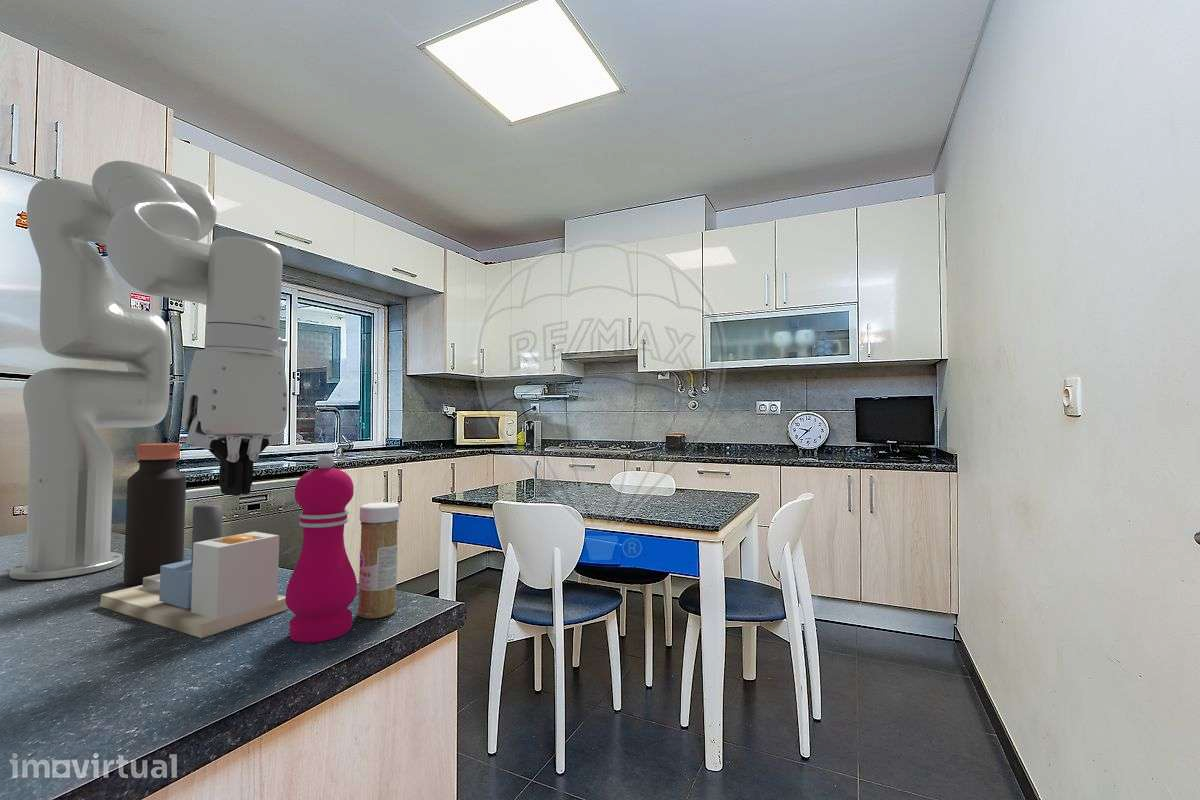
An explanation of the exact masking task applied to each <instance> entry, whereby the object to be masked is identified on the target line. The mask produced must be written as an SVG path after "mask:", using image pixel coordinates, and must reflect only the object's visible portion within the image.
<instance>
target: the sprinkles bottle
mask: <svg viewBox="0 0 1200 800" xmlns="http://www.w3.org/2000/svg"><path fill="white" fill-rule="evenodd" d="M399 519H400V505H399V504H398V503H396V502H391V501H390V502H387V501H386V502H385V501H383V502H382V501H381V502H380V501H379V502H370V503H365V504H363V505H361V506H360V507H359V521H360V525H361V526H360V527H361V529H360V532H361V533H360V549H359V572H358V573H359V575H358V590H359V591H358V608H357V611H356V613H357V615H358V616H359V617H360V618H363V619H366V620H368V619H369V620H370V619H371V620H372V619H373V620H374V619H380V618H384V617H386V616H391V615H392V614H394V613H395V612H396V611H397V605H396V599H397V598H396V597H397V591H396V590H397V582H398V581H397V580H398V578H397V577H398V575H397V574H398V549H399V548H398V544H399V543H398V523H399ZM392 590H393V591H392Z"/></svg>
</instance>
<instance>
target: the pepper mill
mask: <svg viewBox="0 0 1200 800" xmlns="http://www.w3.org/2000/svg"><path fill="white" fill-rule="evenodd" d="M334 464H335V458H334V457H333V456H332V455H330V454H326V453H325V454H322V455H320V456H318V458H317V459H316V465H317V467H318V468H314V469H312V470H309V471H307V472H305V473H304V474H303V475H302V476H300V477H299V479H298V481H297V482H296V485H295V488H294V500H295V502H296V503H297V505H298V506H299V507H300V508H301V509H302V511H301V512H300V513H299V514H298V516H299V522H298V525H299V526H300V527H302V535H303V538H302V544H301V545H302V546H301V551H300V554H299V558H298V560H297V563H296V565H295V567H294V569H293V572H292V574H291V575H290V577H289V580H288V583H287V586H286V591H285V596H286V598H285V601H286V605H287V607H288V608H289V609H288V610H290V611H291V612H292V613H293V614H294V616H293V617H292V618H291V619H290V620H289V638H290V639H291V640H292V641H293V642H297V643H303V644H304V643H306V644H311V643H320V642H326V641H330V640H333V639H337V638H340V637H342V636H343V635H346V634H347V633H348V632H350V631H351V629H352V628H353V612H352V610H350V609H349V606H350V605H351V604H352V603H353V601H355V598H356V596H357V595H358V584H357V583H358V581H357V577H356V574H355V570H354V569H353V566H352V564H351V562H350V561H351V560H350V559H349V555H348V554H347V551H346V550H347V549H346V548H345V547H346V546H345V537H344V536H345V535H344V534H345V532H344V531H345V524H347V523H348V522H349V518H348V515H349V510H348V509H346V506H347V505H348V504H349V503H350V502H351V501H352V499H353V497H354V493H355V491H354V487H355V485H354V481H353V480H352V477H350V476H349V474H348V473H347V472H346V471H343V470H341V469H338V468H334V466H335V465H334Z"/></svg>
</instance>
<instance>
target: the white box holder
mask: <svg viewBox="0 0 1200 800" xmlns="http://www.w3.org/2000/svg"><path fill="white" fill-rule="evenodd" d="M234 535H235V534H232V536H234ZM237 535H252V536H253V540H250V541H245V542H240V543H234V544H226V543H222V540H223V538H225V537H226V536H224V537H223V536H222V538H217V539H211V540H206V541H201V542H195V543H193V568H192V599H191V613H195V614H198V615H202V616H205V617H209V618H212V619H216V620H217V619H221V618H224V617H227V616H230V615H234V614H237V613H240V612H243V611H246V610H250V609H253V608H256V607H259V606H262V605H266V604H269V603H272V602H275V601H278V595H279V594H278V593H279V560H280V558H279V557H280V535H279V534H273V533H266V532H259V531H250V532H245V533H239V534H237Z"/></svg>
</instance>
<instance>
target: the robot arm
mask: <svg viewBox="0 0 1200 800" xmlns="http://www.w3.org/2000/svg"><path fill="white" fill-rule="evenodd" d="M92 175H93V176H92V178H91V184H92V185H91V184H88V183H84V182H79V181H76V180H75V181H74V180H70V179H63V178H45V179H41V180H40V181H38V182H36V183H35V184H34V185H33V186H32V188H31V190H30V192H29V194H28V197H27V203H26V222H27V223H26V224H27V228H28V231H29V236H30V239H31V241H32V244H33V247H34V249H35V252H36V255H37V258H38V262H39V266H40V294H39V295H40V300H39V305H40V306H39V308H40V309H39V336H40V342H41V345H42V347H43V349H44V350H45V351H46V352H47V353H48V354H50V355H53V356H55V357H59V358H64V359H69V360H70V359H72V360H80V361H82V360H83V361H91V362H92V361H93V362H94V361H95V362H104V363H114V364H116V363H117V364H125V365H126V367H127V370H125V371H124V370H111V369H97V368H87V367H86V368H84V367H64V366H63V367H52V368H45V369H42V370H39V371H37V372H35V373H32V375H31V376H29V378H27V380H26V381H25V383H24V385H23V390H22V391H23V392H22V398H23V405H24V406H23V407H24V410H25V411H24V412H25V417H26V422H27V428H28V438H29V443H28V444H29V458H28V460H29V461H28V462H29V463H28V464H29V465H28V471H29V472H28V491H27V514H26V516H27V518H26V537H25V539H26V540H25V558H24V559H25V561H24V562H23V563H20V564H17V565H14V566H13V567H11V568H10V569H9V574H8V575H9V578H11V579H13V580H19V581H21V580H22V581H37V580H38V581H39V580H40V581H41V580H52V579H59V578H69V577H75V576H81V575H86V574H91V573H95V572H100V571H104V570H108V569H110V568H113V567H116V566H119V565H120V564H121V563H122V562H124V561H123V560H124V559H123V557H124V556H123V554H122V553H119V552H114V551H111V542H112V540H111V539H112V537H111V536H112V518H113V517H112V514H113V513H112V512H113V490H114V487H113V486H114V485H113V484H114V482H113V481H114V454H113V452H112V450H111V448H110V447H109V445H108V444H107V442H105V441H104V439H103V438H102V437H101V436H100V435H99V434H98V433H97V432H96V431H95V429H107V428H108V429H110V428H111V429H112V428H114V429H115V428H124V429H126V428H149V427H153V426H156V425H158V424H160V423H161V422H162V421H163V420H164V419H165V417H166V415H167V413H168V409H169V403H170V387H171V386H170V383H171V381H170V380H171V379H170V378H171V375H170V373H171V371H170V370H171V336H170V331H169V328H168V326H167V324H166V322H165V321H164V319H163V318H162V317H161V316H159V315H158V314H157V313H155V312H152V311H148V310H145V309H140V308H133V307H127V306H121V305H118V304H117V302H116V300H115V288H116V287H115V286H116V280H115V275H114V272H113V271H112V269H111V268H110V266H109V265H108V263H107V262H106V260H105V259H104V258H103V257H102V256H101V254H100V253H99V252H98V251H97V250H96V249H95V248H94V247H93V246H92V245H91V244H89V242H91V243H96V244H99V245H105V248H106V255H107V258H108V260H109V263H110V264H111V265H112V267H113V268H114V269H115V270H116V272H117V273H118V275H119V276H121V278H122V279H123V280H124V281H125V282H126V283H127V284H129V286H131V287H132V288H134V289H135V290H137V291H140V292H142V293H144V294H146V295H147V294H148V295H151V296H155V297H160V298H161V297H162V298H166V299H174V300H179V301H185V302H192V303H196V304H202V305H205V307H206V308H205V309H206V311H205V329H204V330H205V331H204V346H203V347H204V350H203V349H198V350H195V352H194V355H193V358H192V361H191V365H190V367H189V372H188V375H187V380H186V385H185V386H186V387H185V392H184V396H183V397H184V398H183V406H182V416H181V426H182V429H183V431H184V432H186V433H187V436H186V440H185V444H186V445H187V446H191V447H197V448H201V449H206V450H208V451H209V453H211V454H212V455H213V456H214V457H215V460H216V461H217V462H218V461H220V462H219V479H218V487H219V488H220V492H221V494H223V495H229V496H234V497H237V496H241V495H243V496H244V495H249V494H251V489H252V488H251V487H252V485H253V479H254V461H255V462H256V461H257V460H258V459H259V457H260V454H261V453H262V452H263V451H265V449H267V447H270V446H274V445H277V444H280V443H281V444H282V443H283V442H284V440H285V439H284V433H283V432H284V430H285V429H286V427H287V423H288V386H287V375H286V369H285V363H284V359H283V357H281V356H279V353H280V350H285V349H286V348H287V347H288V342H287V340H286V339H285V338H282V337H281V333H280V323H281V306H282V305H281V303H282V302H281V301H282V282H283V264H284V261H283V256H282V254H281V252H280V250H279V249H278V248H276V247H275V246H274V245H272V244H269V243H267V242H264V241H261V240H258V239H253V238H249V237H242V236H221V237H218V238H216V239H214V240H213V241H212V242H211V244H207V243H204V242H199V241H201V240H203V239H204V238H206V236H208V235H209V234H210V233H211V231H212V230H213V229H214V227H215V224H216V222H217V216H218V215H217V213H218V212H217V205H216V203H215V200H214V199H213V197H212V195H211V193H210V192H209V191H207V190H206V189H205V188H204V187H202V186H201V185H199V184H198V183H195V182H192V181H189V180H187V179H184V178H181V177H178V176H175V175H172V174H170V173H167V172H164V171H161V170H160V169H159V170H158V169H156V168H152V167H149V166H147V165H144V164H142V163H137V162H132V161H129V160H128V161H127V160H113V161H109V162H105V163H102V164H101V165H100V166H99V167H97V168H96V170H94V173H93V174H92ZM209 436H211V437H209Z"/></svg>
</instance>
